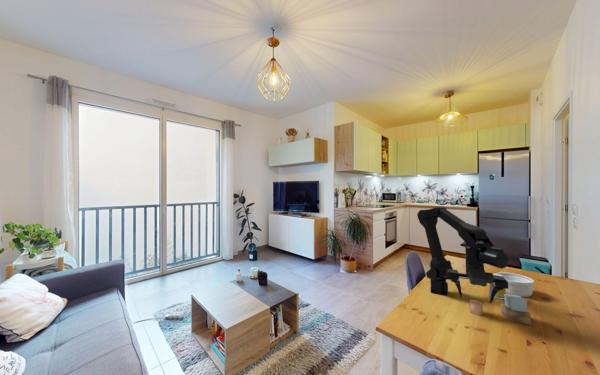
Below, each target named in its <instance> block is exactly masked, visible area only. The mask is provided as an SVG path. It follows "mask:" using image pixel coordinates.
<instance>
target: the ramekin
mask: <svg viewBox="0 0 600 375" xmlns="http://www.w3.org/2000/svg"><path fill="white" fill-rule="evenodd" d="M495 274H500V275H502V276H503V277H504V278H505V279H506V280H507V281H508V286H509V289H506V294H508V295H517V296H520V297H522V298H528V297H531V296H532V295H533V291H534V285H535V280H534V279H533V278H530V277H528V276H525V275H522V274H518V273H513V272H496V273H495Z"/></svg>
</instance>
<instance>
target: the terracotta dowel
mask: <svg viewBox="0 0 600 375" xmlns="http://www.w3.org/2000/svg"><path fill="white" fill-rule="evenodd" d="M468 301H469V302H468V303H469V313H471V314H473V315H476V316H483V315H484V312H483V302H481V301H479V300H477V299H470V300H468Z"/></svg>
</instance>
